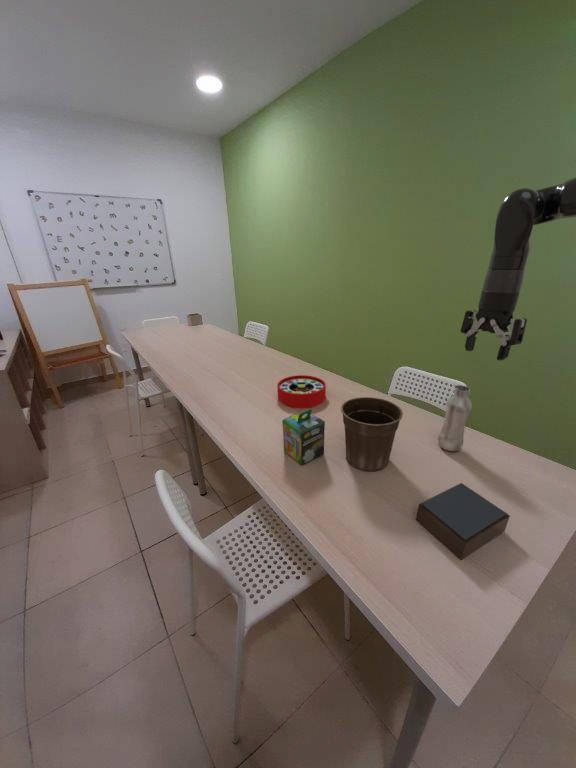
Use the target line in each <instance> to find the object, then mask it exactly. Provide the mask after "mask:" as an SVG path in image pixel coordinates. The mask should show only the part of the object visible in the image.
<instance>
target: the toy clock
mask: <svg viewBox="0 0 576 768" xmlns="http://www.w3.org/2000/svg"><path fill="white" fill-rule="evenodd" d="M326 388H327V384H326V382H325V380H324V379H322V378H320V377H318V376H313V375H307V374H306V375H305V374H299V375H291V376H286V377H284V378H282V379H280V380H279V381H278V382H277V401H278V402H279V403H280V404H282V405H283V406H285V407H289V408H294V409H311V408H314V407H317V406H320V405H321V404H323V403H324V402H325V400H326V398H327V397H326V395H327V394H326V393H327V391H326V390H327V389H326Z"/></svg>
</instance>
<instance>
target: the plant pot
mask: <svg viewBox="0 0 576 768" xmlns="http://www.w3.org/2000/svg"><path fill="white" fill-rule="evenodd" d="M340 412H341V414H342V422H343V424H344V438H345V439H344V441H345V458H346V460H347V461H348V462H349V463H350V465H351V466H352V467H354V468H356V469H359V470H362V471H367V472H377V471H378V470H380V469H382V470H384V468H386V467H387V466H388V464H389V462H390V456H391V454H392V453H391V452H392V448H393V445H394V441H395V437H396V432H397V431H398V429H399V425H400V422H401V421H402V419H403V415H404V413H403V410H402V409H401V407H400V406H399V405H398V404H396V403H394V402H392V401H389V400H388V399H384V398H379V397H373V396H362V397H353V398H350V399H347V400H346V401H344V402H343V403H342V405H341V406H340Z"/></svg>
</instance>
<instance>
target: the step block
mask: <svg viewBox="0 0 576 768" xmlns="http://www.w3.org/2000/svg"><path fill="white" fill-rule="evenodd" d="M510 518H511V515H509V514H508V513H507V512H506V511H504V510H503V509H502V508H499V507H498V506H496V504H494V503H492V502H490V501H489V500H488V499H487V498H484V497H483V496H482V495H480V494H479V493H477V492H476V491H474V490H473V489H472V488H470V487H468V486H467V485H466V484H464V483H462V482H460V483H459V484H456V485H454V486H452V487H450V488H448V489H446V490H445V491H442V492H440V493H439V494H438V493H437V494H436V495H434V496H433V497H430V498H428V499H426V500H424V501H422V502H419V503H418V506H417V511H416V516H415V521H416V522H417V523H419V524H420V525H421V527H423V528H424V529H425V530H426V531H427V532H429V533H430V534H431V535H432V536H433V537H434V538H435V539H436V540H437V541H438V542H440V543H441V544H442V545H443V546H444V547H445V548H446V549H447V550H448V551H450V552H451V553H452V554H453V555H454V556H455V557H456V558H457V559H459V560H460V561H462V560H464V559H465V558H467V557H468V556H470V555H471V554H473V553H474V552H475V551H477V550H478V549H480V548H482V547H484V546H485V545H486V544H488V543H489V542H492V540H495V539H496V538H498V537H499V536H500V535H502V534H503V533H505V532H506V528H507V526H508V522H509V520H510Z"/></svg>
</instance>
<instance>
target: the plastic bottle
mask: <svg viewBox="0 0 576 768" xmlns="http://www.w3.org/2000/svg"><path fill="white" fill-rule="evenodd" d="M470 392H471V388H470V387H468V386H466V385H460V384H459V385H458V384H457V385H455V386H454V390H453V394H452V395H451V396H449V398H447V400H446V402H445V413H444V414H445V415H444V421H443V425H442V427H441V431H440V432H439V435H438V437H437V442H438V445H439V446H440V447H441V448H442V449H443V450H445V451H448V452H458V451H459V450H461V449H462V447H463V445H464V433H465V426H466V425H467V421H468V418H469V416H470V414H471V412H472V410H473V403H472V401H471V400H470V398H469V397H470V396H471V395H470V394H471V393H470Z"/></svg>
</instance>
